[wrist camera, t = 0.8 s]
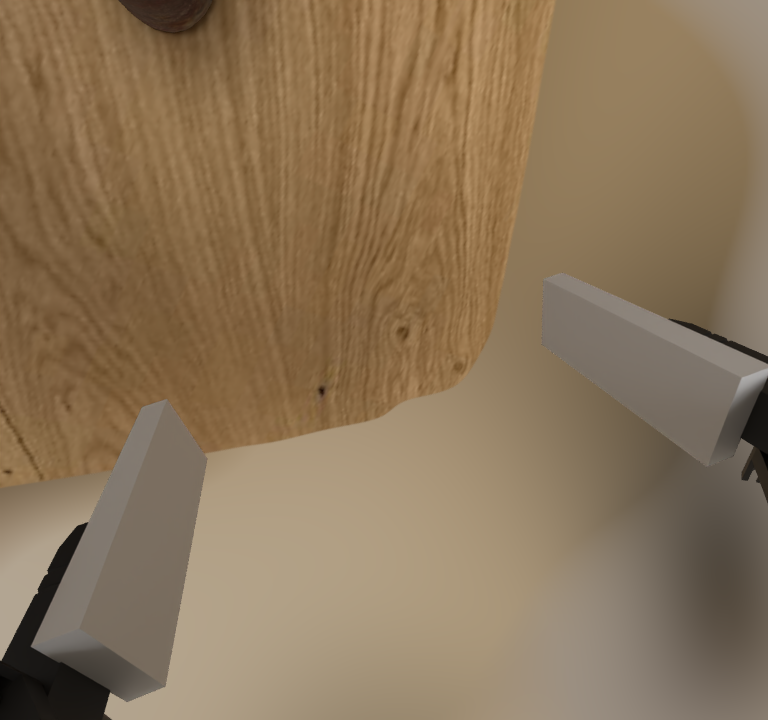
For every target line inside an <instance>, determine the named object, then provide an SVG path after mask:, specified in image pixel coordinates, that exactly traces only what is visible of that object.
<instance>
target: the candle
mask: <svg viewBox="0 0 768 720" xmlns="http://www.w3.org/2000/svg"><path fill="white" fill-rule="evenodd" d="M119 1H120V2H121V3H122V4H123V5H124V6H125V7H126V8H127V9H128V10H129V11H130V12H131V13H132V14H133V15H134V16H136V17H137V18H138V19H140V20H141V21H143V22H144V23H146V24H147V25H149V26H151V27H153V28H155V29H157V30H163V31H167V32H178V31H184V30H186V29H189V28H191V27H192V26H193V25H194V24H195V23H197V22H198V21H199V20H200V19H201V18H202V17H203V16H204V15H205V14H206V12H207V10H208V8H209V6H210V5H211V3H212V0H119Z"/></svg>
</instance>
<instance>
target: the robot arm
mask: <svg viewBox="0 0 768 720" xmlns="http://www.w3.org/2000/svg"><path fill="white" fill-rule="evenodd" d="M542 345H543V346H545V347H546V348H547V349H548V350H550V351H551V352H552V353H554V354H555V355H557V356H558V357H559V358H561V359H562V360H563V361H565V362H566V363H567V364H569V365H570V366H571V367H573V368H574V369H576V370H577V371H578V372H579V373H581V374H582V375H584V376H585V377H586V378H588V379H589V380H590V381H592V382H593V383H594V384H596V385H597V386H598V387H600V388H601V389H602V390H604V391H605V392H606V393H608V394H609V395H611V396H612V397H613V398H615V399H616V400H617V401H619V402H620V403H621V404H623V405H624V406H625V407H627V408H628V409H629V410H631V411H632V412H634V413H635V414H636V415H637V416H639V417H640V418H642V419H643V420H644V421H646V422H647V423H648V424H650V425H651V426H652V427H654V428H655V429H656V430H658V431H659V432H660V433H662V434H663V435H664V436H666V437H667V438H668V439H670V440H671V441H673V442H674V443H675V444H677V445H678V446H679V447H681V448H682V449H683V450H685V451H686V452H687V453H689V454H690V455H691V456H693V457H694V458H695V459H697V460H698V461H699V462H701V463H702V464H704V465H705V466H706V467H708V466H711V465H713V464H716V463H718V462H721V461H723V460H726V459H728V458H731V457H733V456H734V453H735V451H736V449H737V447H738V444H739V442H740V440H741V438H742V439H744V440H745V441H747V442H748V443H750V444H752V445H753V446H754V447H753V450H752V452H751V454H750V456H749V458H748V460H747V463H746V465H745V467H744V469H743V471H742V480H748V479H749V477H750V475H751V473H752V471H753V470H756V473H757V475H758V478H757V480H756V482H758V483H760V484H761V486H762V489H763V491H764V494H765V497H766V500H767V502H768V356H766V355H763V354H761V353H759V352H757V351H754V350H752V349H749V348H747V347H745V346H743V345H740V344H738V343H736V342H733V341H727V339H726V338H724V337H722V336H719V335H717V334H711V332H710V331H708V330H705V329H703V328H701V327H698V326H696V325H694V324H691V323H687V322H682V321H677V320H673V319H666V318H663V317H661V316H659V315H657V314H654V313H652V312H650V311H648V310H645V309H643V308H641V307H639V306H636V305H634V304H632V303H630V302H627V301H625V300H623V299H621V298H619V297H616V296H614V295H612V294H610V293H607V292H605V291H603V290H601V289H598V288H596V287H594V286H591V285H589V284H587V283H585V282H583V281H580V280H578V279H576V278H573V277H571V276H569V275H567V274H565V273H560V274H557V275H554V276H551V277H547V278H544V279H543V315H542ZM206 463H207V457H206V456H205V454H204V453H203V451H202V450H201V448H200V447H199V446H198V444H197V443H196V441H195V440H194V438H193V437H192V435H191V434H190V432H189V431H188V429H187V428H186V426H185V425H184V423H183V422H182V420H181V419H180V417H179V416H178V414H177V413H176V411H175V410H174V408H173V407H172V406H171V404H170V403H169V401H168V400H167V399H165V400H162V401H159V402H156V403H153V404H150V405H147V406H144V407H142V408H141V411H140V413H139V415H138V417H137V419H136V421H135V423H134V426H133V428H132V430H131V432H130V434H129V436H128V438H127V441H126V443H125V445H124V447H123V449H122V451H121V454H120V456H119V458H118V460H117V462H116V464H115V466H114V469H113V471H112V473H111V475H110V477H109V479H108V482H107V484H106V486H105V488H104V490H103V493H102V494H101V497H100V499H99V501H98V503H97V505H96V507H95V510H94V512H93V514H92V516H91V518H90V521H89V522H87V523H84V524H82V525H78V526H77V527H76V528H75V529H74V530H73V532H72V533H71V534H70V535H69V536H68V538H67V539H66V540H65V541H64V543H63V544H62V545H61V546H60V547H59V549H58V551H57V552H56V554H55V557H54V558H53V560H52V562H51V564H50V566H49V568H48V570H47V571H48V574H47V575H45V576H44V578H43V580H42V582H41V584H40V586H39V588H38V594H36V595H35V596H34V598H33V600H32V602H31V604H30V606H29V608H28V609H27V611H26V614H25V615H24V617H23V619H22V621H21V623H20V625H19V627H18V629H17V631H16V633H15V635H14V637H13V639H12V641H11V643H10V645H9V647H8V649H7V651H6V653H5V655H4V657H3V659H2V661H0V720H111V719H110V718H109V717H108V716H107V715H105V714H104V712H105V708H106V704H107V701H108V697H109V694H110V692H111V693H112V694H114V695H116V696H118V697H119V698H121V699H123V700H125V701H126V702H128V701H131V700H133V699H136V698H138V697H141V696H143V695H146V694H148V693H151V692H153V691H156V690H158V689H160V688H163V687H165V685H166V680H167V675H168V669H169V664H170V658H171V653H172V648H173V642H174V637H175V631H176V626H177V620H178V615H179V610H180V604H181V599H182V593H183V588H184V583H185V577H186V572H187V565H188V561H189V555H190V550H191V545H192V539H193V534H194V528H195V523H196V517H197V512H198V506H199V501H200V496H201V490H202V485H203V480H204V474H205V468H206Z"/></svg>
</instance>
